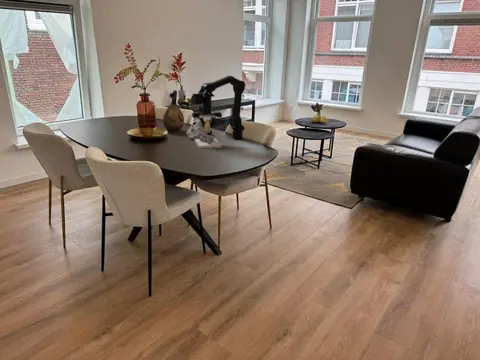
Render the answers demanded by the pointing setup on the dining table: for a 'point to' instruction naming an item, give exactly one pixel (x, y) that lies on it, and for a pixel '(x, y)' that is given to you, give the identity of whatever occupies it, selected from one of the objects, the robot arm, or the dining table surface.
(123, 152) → the dining table surface
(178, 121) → the ceramic jug
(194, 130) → the mechanical valve
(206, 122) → the brass cylinder
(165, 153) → the dining table surface
